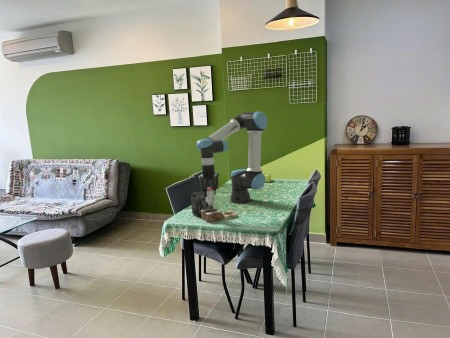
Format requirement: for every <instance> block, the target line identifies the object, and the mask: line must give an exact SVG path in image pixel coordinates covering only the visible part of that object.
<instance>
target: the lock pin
mask: <svg viewBox="0 0 450 338" xmlns="http://www.w3.org/2000/svg"><path fill="white" fill-rule="evenodd" d="M207 192H208V196H209V202H208V209H213V208H214V204H215V203H214V201H213V189H212V186H209V187H208V186H207Z"/></svg>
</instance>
